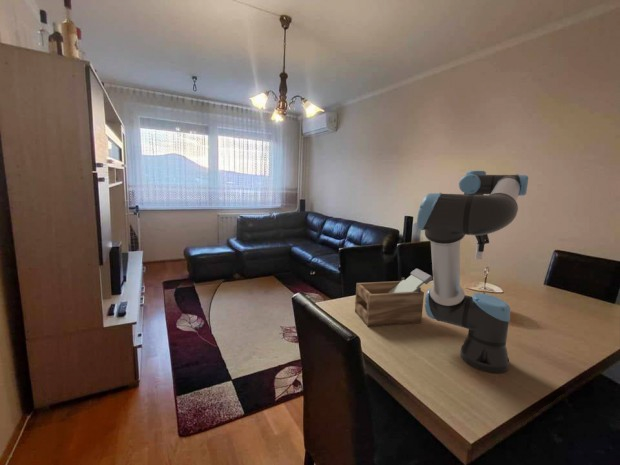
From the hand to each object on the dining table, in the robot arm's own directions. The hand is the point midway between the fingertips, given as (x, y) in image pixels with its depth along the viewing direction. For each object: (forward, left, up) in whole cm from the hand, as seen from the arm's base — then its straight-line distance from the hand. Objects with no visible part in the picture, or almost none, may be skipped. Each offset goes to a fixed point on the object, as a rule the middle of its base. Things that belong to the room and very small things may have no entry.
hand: (466, 255), depth 130 cm
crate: (+10, +31, -32) cm, 45 cm away
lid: (+10, +20, -17) cm, 28 cm away
